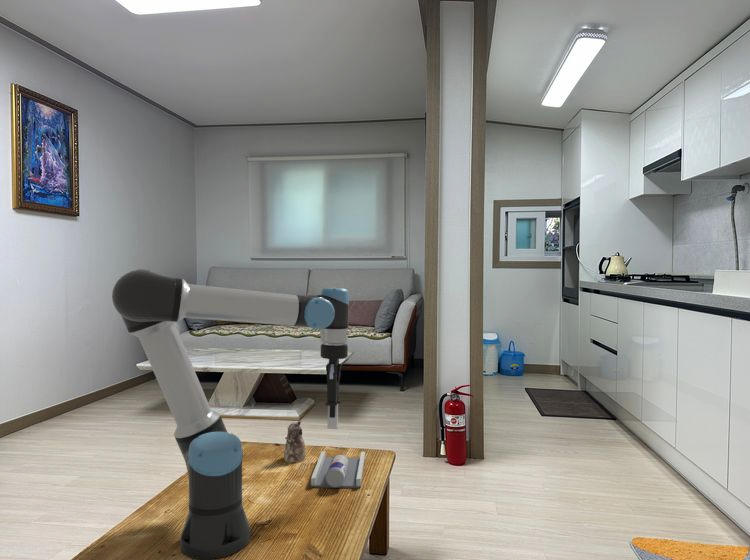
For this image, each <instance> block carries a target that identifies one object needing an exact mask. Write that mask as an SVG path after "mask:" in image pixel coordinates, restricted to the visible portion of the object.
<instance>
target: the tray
mask: <svg viewBox="0 0 750 560" xmlns="http://www.w3.org/2000/svg"><path fill="white" fill-rule="evenodd" d="M334 457H335V456H333V457H332V456H331V457H329V456H328V457H326V451H325V450H321V452H320V454H319V457H318V460H317V463H316V465H315V467H314V468H313V469H314V470H313V472H312V474H311V478H310V488H327V489H328V488H332V489H333V488H336V489H341V488H342V489H345V488H346V489H361V488H362V481H363V480H362V479H363V473H364V467H365V462H366V452H365V451H360V456H359V457H347V459H348V461H349V467H348V470H347V473H346V476H345V479H344V482H343V484H342V485H341V486H339V487H331V486H330V485H329V484H328V483H327V482H326V474H327V471H328V469H329V466H330V464H331V462H332V460H333V458H334Z"/></svg>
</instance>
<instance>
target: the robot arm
mask: <svg viewBox="0 0 750 560" xmlns="http://www.w3.org/2000/svg"><path fill="white" fill-rule="evenodd" d="M111 292H112V293H111V299H112V305H113V306H114V309H115V310H116V312H117V313H118V314H119V315H120V316H121V317H122V320H123V322H124V325H125V328H126V329H127V332H128V334H129V335H131V336H133V337H134V336H135V337H137V338H138V339H139V342H140V343H141V346H142V348H143V351H144V353H145V355H146V358H147V359H148V362H149V365H150V367H151V369H152V372H153V374H154V376H155V379H156V381H157V382H158V385H159V387H160V389H161V391H162V394H163V397H164V400H165V401H166V405H167V406H168V408H169V410H170V412H171V414H172V417H173V419H174V422H175V424H176V428H175V431H174V433H173V436H174V438H175V441H176V444H177V446H178V447H179V450H180V453H181V454H182V457H183V460H184V462H185V465H186V466H185V467H186V471H187V475H188V477H187V478H188V513H187V516H186V519H185V522H184V526H183V529H182V532H181V535H180V550H181V552H182V553H183V554H184V555H185V556H186V557H189V558H192V559H196V560H214V559H215V560H216V559H220V558H225V557H227V556H231V555H233V554H235V553H237V552H239V551H241V550H243V548H245V547H246V546H247V544H249V542H250V539H251V525H250V522H249V520H248V516H247V514H246V511H245V508H244V506H243V458H244V457H243V456H244V450H243V445H242V444H243V443H242V441H241V438H239V437H238V436H237V435H236V434H234V433H230V432H228V430H227V427H226V426H225V423H224V420H223V419H222V417H221V414H220V412H219V411H216V410H213V409H211V406H210V404H209V402H208V400H207V397H206V394H205V392H204V389H203V387H202V385H201V383H200V380H199V378H198V376H197V373H196V371H195V368H194V366H193V364H192V361H191V359H190V357H189V354H188V352H187V349H186V347H185V345H184V343H183V341H182V337H181V336H180V333H179V331H178V329H177V326H176V323H179V322H180V321H181V320H184V319H186V318H187V319H199V320H211V321H225V322H240V323H250V324H251V323H253V324H266V325H278V326H279V325H280V326H290V327H291V326H293V327H301V328H302V327H303V328H311V329H313V330H320V342H321V345H320V357H321V358H322V359H326V360H328V363H327V364H325V371H326V385H327V386H326V393H327V394H326V396H327V397H326V402H325V404H324V406H327V426H326V427H327V429H330V430H331V429H332V430H338V428H339V427H338V426H339V423H338V422H339V404H341V402H342V401H341V400H340V379H341V370H342V363H340V360H343V359H346V358H348V354H349V346H348V344H347V343H348V341H349V337H348V336H350V335H351V332H350V331H348V330H349V309H350V308H349V307H350V303H349V302H350V298H349V297H350V296H349V291H348V289H346V288H341V287H324V288H322V290H321V293H320V294H317V295H313V294H290V293H288V294H287V293H279V292H270V291H269V292H268V291H259V290H249V289H242V288H231V287H230V288H229V287H219V286H211V285H203V284H202V285H200V284H191V283H188V282H187V281H186V280H185V279H184V278H178V277H177V278H176V277H171V276H167V275H162V274H159V273H156V272H154V271H152V270H148V269H136V270H131V271H129V272H127V273H125V274H124V275H122V276H121V277H120V278H119V279H117V281H116V282H115V284H114V287H113V288H112V291H111Z"/></svg>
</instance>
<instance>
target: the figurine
mask: <svg viewBox="0 0 750 560" xmlns="http://www.w3.org/2000/svg"><path fill="white" fill-rule="evenodd" d="M301 423H302V422H301V420H298V421H297V422H291V423H289V425H288V426H287V436H286V437H285V441H286V442H285V445H284V446H285V447H284V452H283V455H284V456H283V457H284V459H283V460H285V461H284V462H286V461H287V462H286V463H290V462H297V463H301V462H303V461H305V460H306V458H307V457H306V456H307V451H306V444H305V440H304V438H303V429H302V427H301Z"/></svg>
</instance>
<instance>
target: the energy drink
mask: <svg viewBox="0 0 750 560" xmlns="http://www.w3.org/2000/svg"><path fill="white" fill-rule="evenodd" d="M333 457H334V458H333V460H332V462H331V464H330V466H329V469H328V471H327V474H326V482H327V483H328V484H329V485H330V486H331V487H339V486H341V485H342V484H343V482H344V479H345V476H346V473H347V470H348V467H349V461H348V459H347V458H348V457H347V456H346V455H345V454H337V455H335V456H333Z"/></svg>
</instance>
